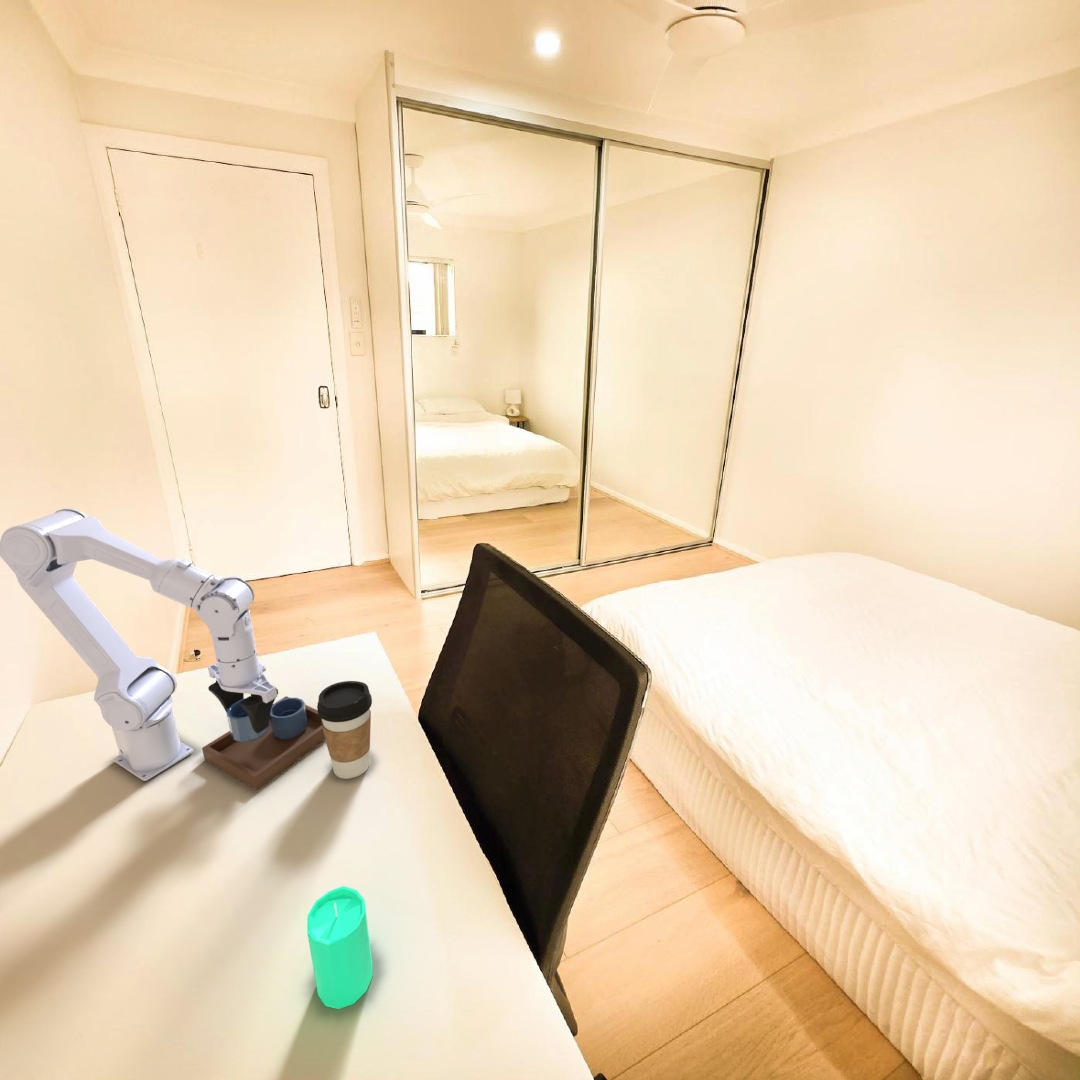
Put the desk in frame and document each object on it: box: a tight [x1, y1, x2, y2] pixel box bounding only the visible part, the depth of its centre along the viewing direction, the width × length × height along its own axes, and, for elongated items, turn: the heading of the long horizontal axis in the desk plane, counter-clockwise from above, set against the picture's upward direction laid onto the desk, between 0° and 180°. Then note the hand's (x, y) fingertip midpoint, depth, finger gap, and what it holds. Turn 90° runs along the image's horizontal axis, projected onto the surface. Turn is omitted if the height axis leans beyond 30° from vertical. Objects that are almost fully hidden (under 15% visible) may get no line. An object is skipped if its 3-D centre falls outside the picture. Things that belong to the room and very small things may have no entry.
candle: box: [306, 885, 374, 1010], centre depth 58 cm, size 6×6×12 cm
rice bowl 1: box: [226, 698, 270, 742], centre depth 89 cm, size 6×6×5 cm
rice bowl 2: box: [270, 697, 307, 739], centre depth 97 cm, size 6×6×5 cm
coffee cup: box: [316, 680, 373, 780], centre depth 88 cm, size 8×8×15 cm
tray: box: [201, 695, 326, 791], centre depth 94 cm, size 14×17×3 cm
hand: (249, 723), depth 90 cm, fingers closed on rice bowl 1, 6 cm apart
